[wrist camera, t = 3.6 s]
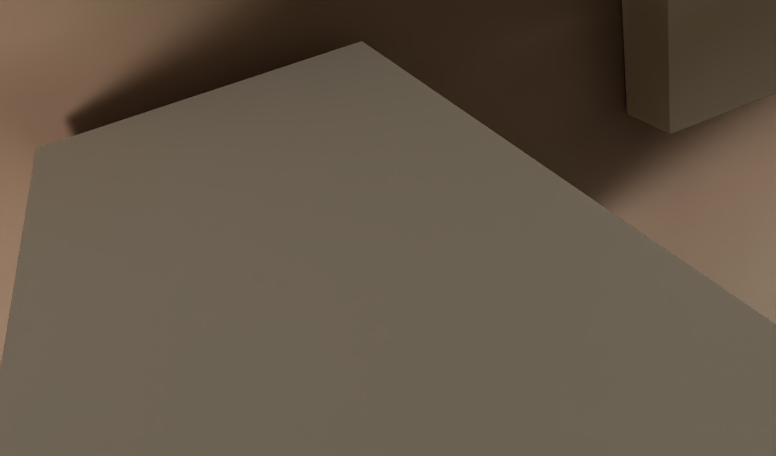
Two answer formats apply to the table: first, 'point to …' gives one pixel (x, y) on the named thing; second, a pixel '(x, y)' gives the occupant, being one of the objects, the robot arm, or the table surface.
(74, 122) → the table surface
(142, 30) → the table surface
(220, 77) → the table surface
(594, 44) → the table surface
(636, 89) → the board
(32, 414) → the grey block
